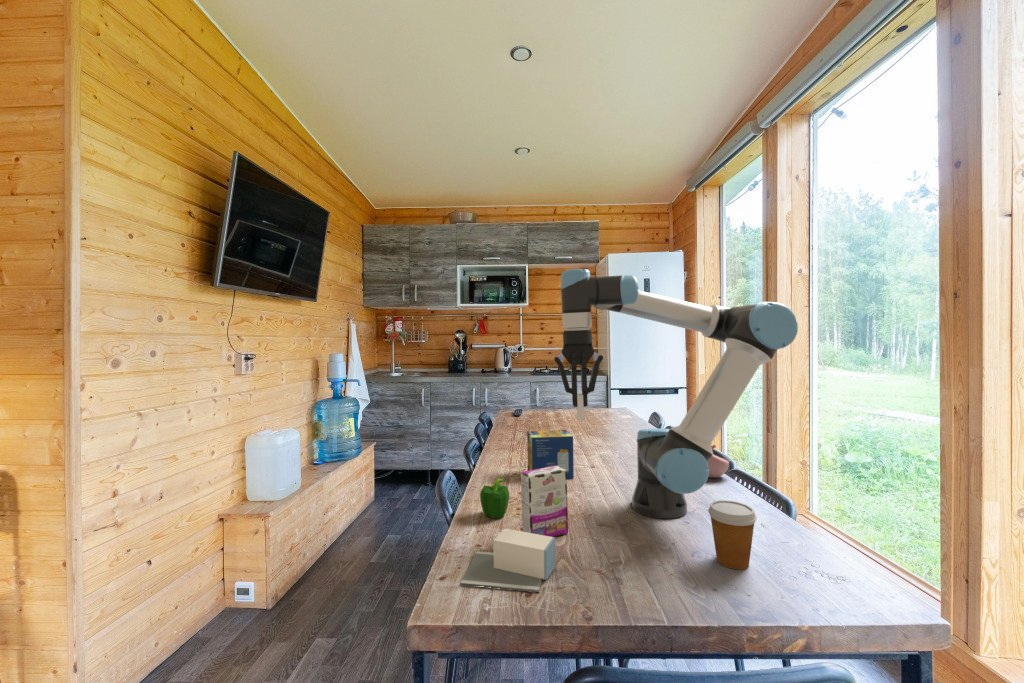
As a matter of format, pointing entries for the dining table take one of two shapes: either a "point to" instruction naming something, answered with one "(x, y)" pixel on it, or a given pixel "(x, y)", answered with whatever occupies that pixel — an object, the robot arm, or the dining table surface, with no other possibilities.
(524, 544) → the cream block
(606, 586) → the dining table surface
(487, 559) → the gray plastic tray
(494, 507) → the bell pepper
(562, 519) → the candy bar box
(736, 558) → the disposable coffee cup
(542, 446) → the protein box
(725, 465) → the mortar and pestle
